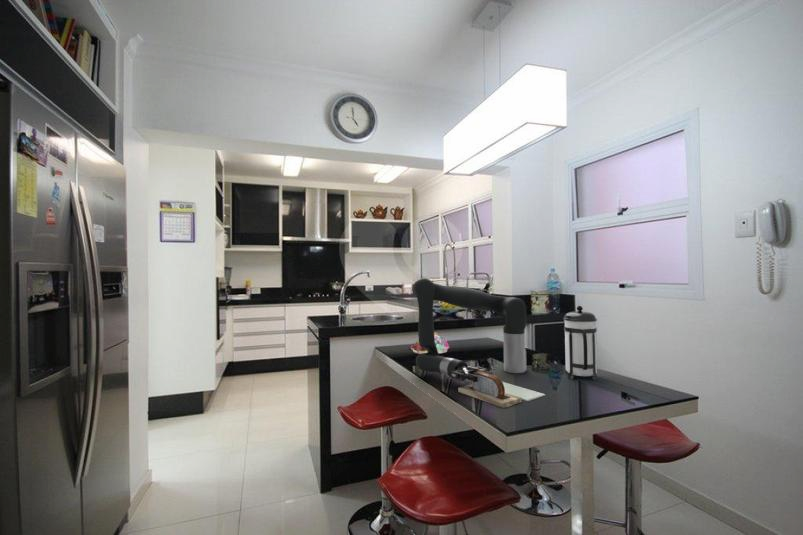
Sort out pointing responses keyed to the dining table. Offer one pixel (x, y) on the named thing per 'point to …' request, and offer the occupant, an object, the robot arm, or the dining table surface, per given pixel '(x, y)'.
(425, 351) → the candy landscape model
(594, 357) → the coffee press
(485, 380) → the tin
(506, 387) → the mat
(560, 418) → the dining table surface
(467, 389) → the slot holder
